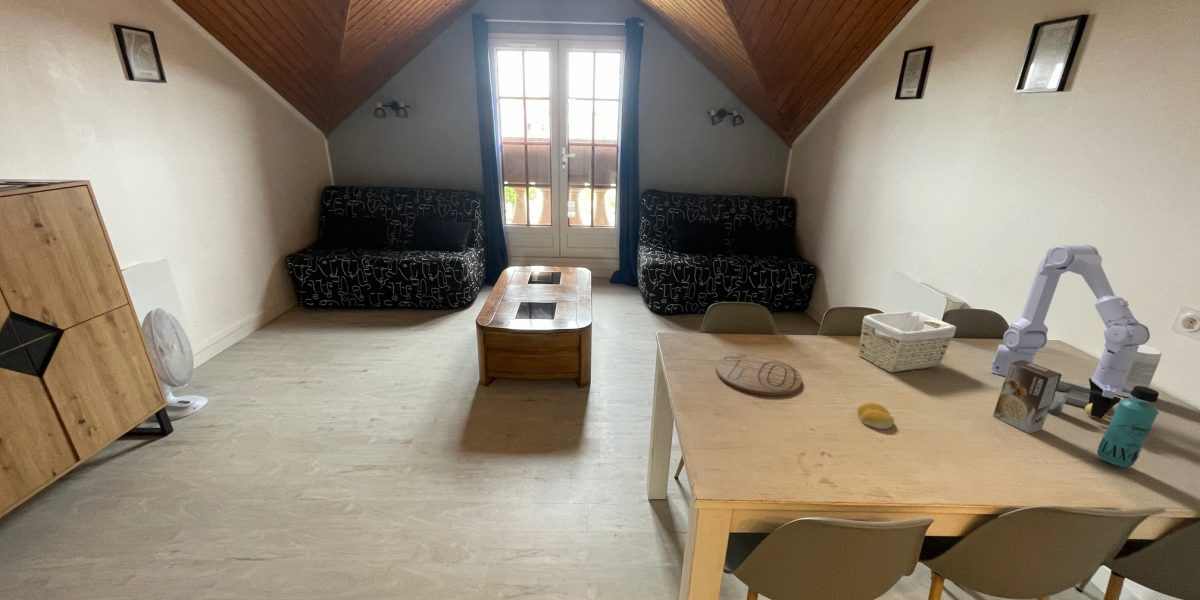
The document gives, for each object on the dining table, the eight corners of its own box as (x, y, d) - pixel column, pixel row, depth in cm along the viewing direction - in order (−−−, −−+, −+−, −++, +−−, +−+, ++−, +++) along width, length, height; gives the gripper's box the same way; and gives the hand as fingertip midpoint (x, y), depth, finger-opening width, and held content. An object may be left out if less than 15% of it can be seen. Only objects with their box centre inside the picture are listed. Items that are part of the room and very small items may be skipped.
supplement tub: (1147, 394, 151) (1167, 350, 146) (1139, 402, 146) (1159, 357, 141) (1104, 381, 159) (1122, 338, 154) (1095, 388, 154) (1113, 344, 149)
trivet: (709, 386, 146) (709, 380, 145) (722, 353, 168) (723, 348, 167) (800, 405, 137) (801, 399, 137) (801, 368, 159) (802, 363, 159)
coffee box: (1043, 429, 130) (1064, 374, 125) (1029, 434, 128) (1050, 378, 123) (1005, 411, 138) (1023, 359, 133) (990, 415, 136) (1008, 362, 130)
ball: (1083, 417, 137) (1088, 404, 136) (1082, 411, 140) (1087, 398, 139) (1103, 422, 135) (1108, 409, 133) (1101, 416, 138) (1107, 404, 136)
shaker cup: (1038, 410, 140) (1048, 384, 137) (1038, 404, 143) (1048, 378, 140) (1061, 417, 137) (1072, 390, 134) (1061, 410, 140) (1071, 384, 137)
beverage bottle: (1085, 455, 120) (1117, 381, 113) (1110, 455, 121) (1143, 381, 114) (1114, 473, 114) (1149, 396, 107) (1140, 473, 114) (1177, 396, 108)
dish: (1049, 398, 146) (1051, 392, 146) (1049, 384, 155) (1051, 378, 154) (1105, 413, 139) (1108, 407, 139) (1101, 397, 148) (1104, 391, 147)
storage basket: (905, 347, 178) (915, 309, 173) (947, 368, 163) (960, 326, 159) (852, 354, 170) (861, 314, 165) (891, 376, 156) (903, 333, 151)
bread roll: (863, 428, 128) (866, 415, 126) (853, 410, 136) (856, 397, 135) (898, 432, 126) (902, 419, 125) (885, 414, 135) (889, 401, 134)
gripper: (1139, 380, 125) (1118, 427, 129) (1131, 362, 135) (1112, 406, 140) (1100, 371, 129) (1081, 417, 133) (1095, 354, 139) (1078, 397, 144)
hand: (1095, 411), depth 137 cm, fingers open, 7 cm apart
